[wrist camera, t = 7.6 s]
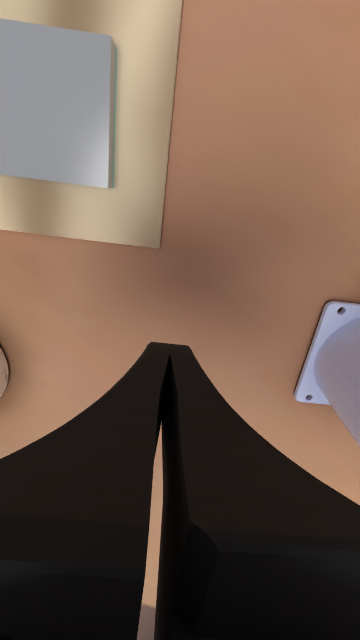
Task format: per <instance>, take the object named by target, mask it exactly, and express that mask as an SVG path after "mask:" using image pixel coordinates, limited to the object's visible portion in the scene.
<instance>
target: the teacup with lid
mask: <svg viewBox="0 0 360 640" xmlns="http://www.w3.org/2000/svg"><path fill="white" fill-rule="evenodd" d="M8 374H9V372H8V365H7V361H6V358H5V356H4V354H3V352H2V350H1V348H0V397H1V396H2V394H3V393H4V391H5V389H6V386H7V383H8Z"/></svg>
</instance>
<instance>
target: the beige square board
mask: <svg viewBox="0 0 360 640" xmlns="http://www.w3.org/2000/svg"><path fill="white" fill-rule="evenodd" d="M181 11H182V0H0V18H2V19H8V20H15V21H21V22H27V23H34V24H40V25H46V26H53V27H59V28H65V29H72V30H78V31H85V32H91V33H97V34H104V35H110V36H111V37H112V39H113V41H114V43H115V45H116V47H117V76H116V114H115V152H114V188H101V187H93V186H85V185H77V184H70V183H62V182H54V181H47V180H39V179H31V178H24V177H16V176H8V175H1V174H0V229H1V230H9V231H17V232H25V233H34V234H42V235H50V236H59V237H67V238H75V239H83V240H92V241H100V242H108V243H116V244H125V245H133V246H141V247H150V248H158V249H159V248H160V239H161V228H162V218H163V207H164V196H165V185H166V174H167V163H168V152H169V142H170V131H171V120H172V109H173V98H174V87H175V76H176V65H177V55H178V44H179V33H180V22H181Z"/></svg>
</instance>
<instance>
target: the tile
mask: <svg viewBox="0 0 360 640" xmlns="http://www.w3.org/2000/svg"><path fill="white" fill-rule="evenodd" d="M116 76H117V47H116V45H115V43H114V41H113V39H112V37H111V36H110V35H104V34H97V33H91V32H85V31H78V30H72V29H65V28H59V27H53V26H46V25H40V24H34V23H27V22H21V21H15V20H8V19H2V18H0V174H1V175H8V176H16V177H24V178H31V179H39V180H47V181H54V182H62V183H70V184H77V185H85V186H93V187H101V188H114V152H115V114H116Z"/></svg>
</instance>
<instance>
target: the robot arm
mask: <svg viewBox="0 0 360 640" xmlns="http://www.w3.org/2000/svg"><path fill="white" fill-rule="evenodd" d="M341 307H343V309H342V311H340V312H337V311H338V309H339V308H341ZM307 395H310V396H308V397H306V396H307ZM294 396H295V398H296V400H297V401H299V402H307V403H317V404H327V405H331V406H332V407H333V409H334V410H335V412H336V413H337V415H338V416H339V418H340V419H341V421H342V422H343V424H344V425H345V427H346V428H347V430H348V431H349V432H350V434H351V435H352V437H353V438H354V440H355V441H356V443H357V444H358V446H359V447H360V304H356V303H347V302H339V301H330V302H328V303H327V304H326V305H325V307H324V309H323V312H322V315H321V318H320V321H319V323H318V326H317V329H316V332H315V335H314V338H313V341H312V344H311V347H310V349H309V352H308V355H307V358H306V361H305V364H304V367H303V370H302V373H301V375H300V378H299V381H298V384H297V387H296V390H295V393H294ZM161 421H162V459H163V508H162V524H161V540H160V556H159V571H158V586H157V600H156V615H155V630H154V640H360V505H358V504H356V503H355V502H353V501H352V500H350V499H348V498H347V497H345V496H344V495H342V494H340V493H339V492H337V491H336V490H334V489H333V488H331V487H329V486H328V485H326V484H325V483H323V482H321V481H320V480H318V479H317V478H315V477H314V476H312V475H311V474H310V473H308V472H307V471H305V470H304V469H303V468H301V467H300V466H298V465H297V464H296V463H294V462H293V461H292V460H290V459H289V458H288V457H286V456H285V455H284V454H282V453H281V452H280V451H279V450H277V449H276V448H275V447H273V446H272V445H271V444H270V443H269V442H268V441H266V440H265V439H264V438H263V437H262V436H261V435H259V434H258V433H257V432H256V431H255V430H254V429H253V428H252V427H250V426H249V425H248V424H247V423H246V422H245V421H244V420H243V419H242V418H241V417H240V416H239V415H238V414H237V413H236V412H235V411H234V410H233V409H232V408H231V406H230V405H229V404H228V403H227V402H226V401H225V399H224V398H223V397H222V396H221V394H220V393H219V392H218V391H217V389H216V388H215V387H214V385H213V384H212V382H211V381H210V380H209V378H208V377H207V375H206V374H205V372H204V371H203V369H202V368H201V366H200V364H199V363H198V361H197V359H196V358H195V356H194V354H193V352H192V350H191V349H190V347H189V346H186V345H176V344H167V343H157V342H151V343H149V344H148V345H147V347H146V349H145V351H144V352H143V353H142V355H141V356H140V357H139V359H138V360H137V361H136V362H135V364H134V365H133V366H132V367H131V368H130V369H129V371H128V372H127V373H126V374H125V375H124V376H123V377H122V378H121V379H120V380H119V381H118V382H117V383H116V384H115V385H114V386H113V387H112V388H111V389H110V390H109V391H108V392H107V393H105V394H104V395H103V396H102V397H101V398H100V399H98V400H97V401H96V402H95V403H93V404H92V405H91V406H90V407H88V408H87V409H86V410H84V411H83V412H81V413H80V414H79V415H77V416H76V417H74V418H73V419H72V420H70V421H69V422H67V423H66V424H64V425H63V426H61V427H59V428H58V429H56V430H54V431H53V432H51V433H49V434H48V435H46V436H44V437H42V438H41V439H39V440H37V441H35V442H33V443H31V444H29V445H28V446H26V447H24V448H22V449H20V450H18V451H16V452H14V453H12V454H10V455H8V456H6V457H3V458H1V459H0V640H137V632H138V625H139V617H140V610H141V602H142V594H143V587H144V579H145V569H146V557H147V546H148V534H149V522H150V507H151V493H152V479H153V465H154V458H155V453H156V447H157V442H158V437H159V431H160V426H161Z"/></svg>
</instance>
